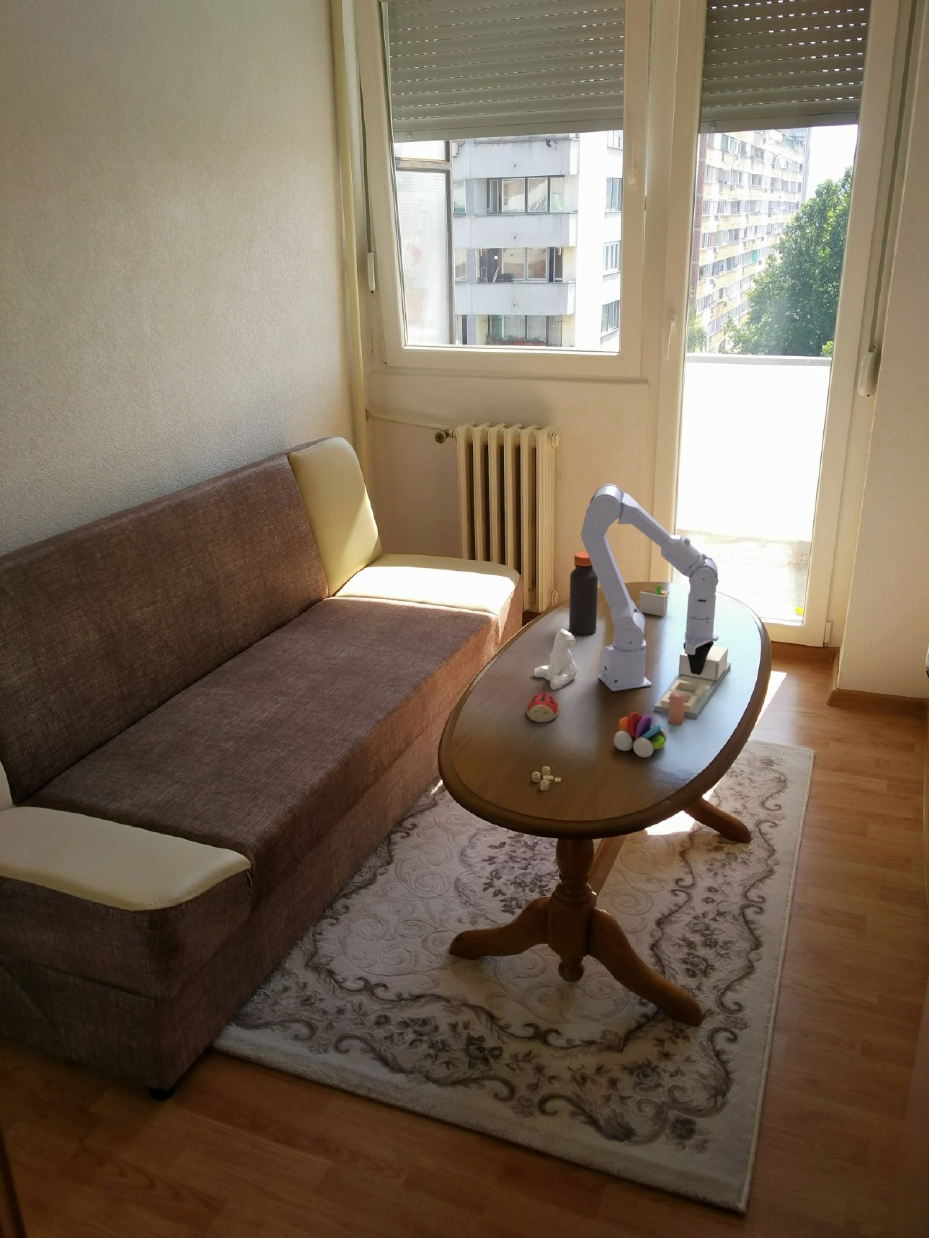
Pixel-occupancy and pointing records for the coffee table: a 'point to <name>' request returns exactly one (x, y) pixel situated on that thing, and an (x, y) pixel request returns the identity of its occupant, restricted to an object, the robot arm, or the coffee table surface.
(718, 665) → the block
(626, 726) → the rainbow fan toy
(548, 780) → the dice set
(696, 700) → the board
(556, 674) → the white creature statuette
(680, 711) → the peg
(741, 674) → the coffee table surface
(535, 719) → the ladybug figurine
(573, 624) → the bottle
